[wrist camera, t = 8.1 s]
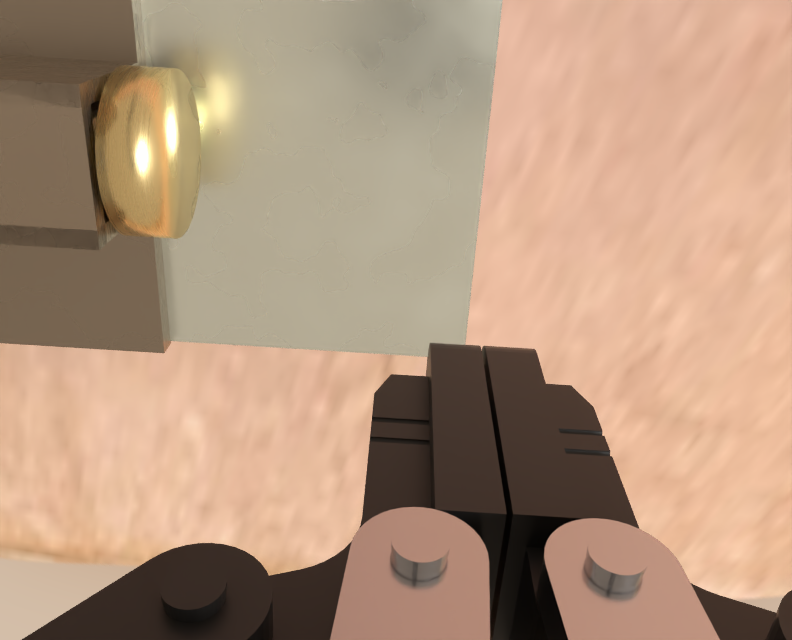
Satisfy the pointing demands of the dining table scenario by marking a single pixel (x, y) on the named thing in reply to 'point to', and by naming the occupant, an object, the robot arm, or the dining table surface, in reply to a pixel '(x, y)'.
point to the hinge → (252, 174)
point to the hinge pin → (148, 151)
